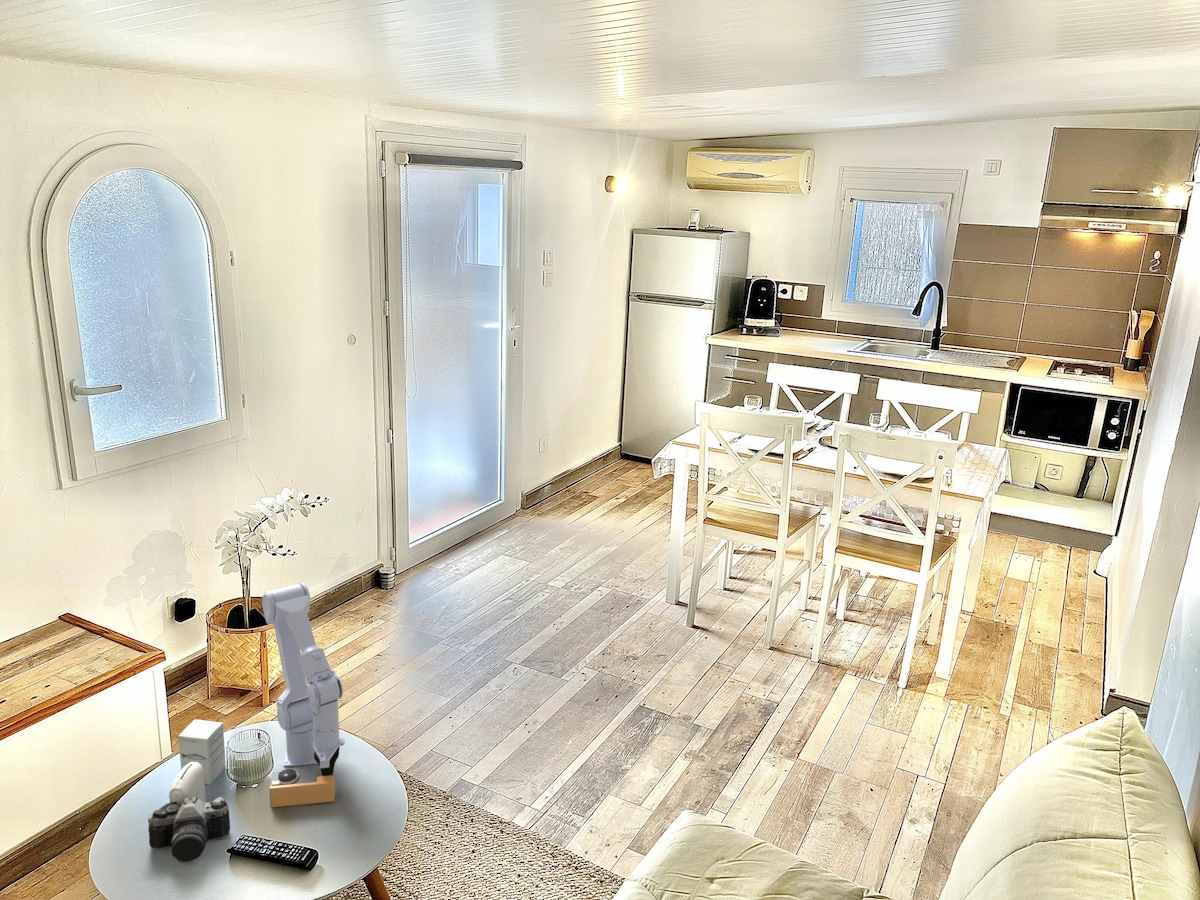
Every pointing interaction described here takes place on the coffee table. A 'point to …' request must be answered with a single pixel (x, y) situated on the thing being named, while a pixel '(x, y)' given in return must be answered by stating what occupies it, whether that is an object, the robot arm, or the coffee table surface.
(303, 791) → the tan l-shaped bracket
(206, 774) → the supplement box
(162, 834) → the camera
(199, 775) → the photo printer
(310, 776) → the block
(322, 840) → the coffee table surface
